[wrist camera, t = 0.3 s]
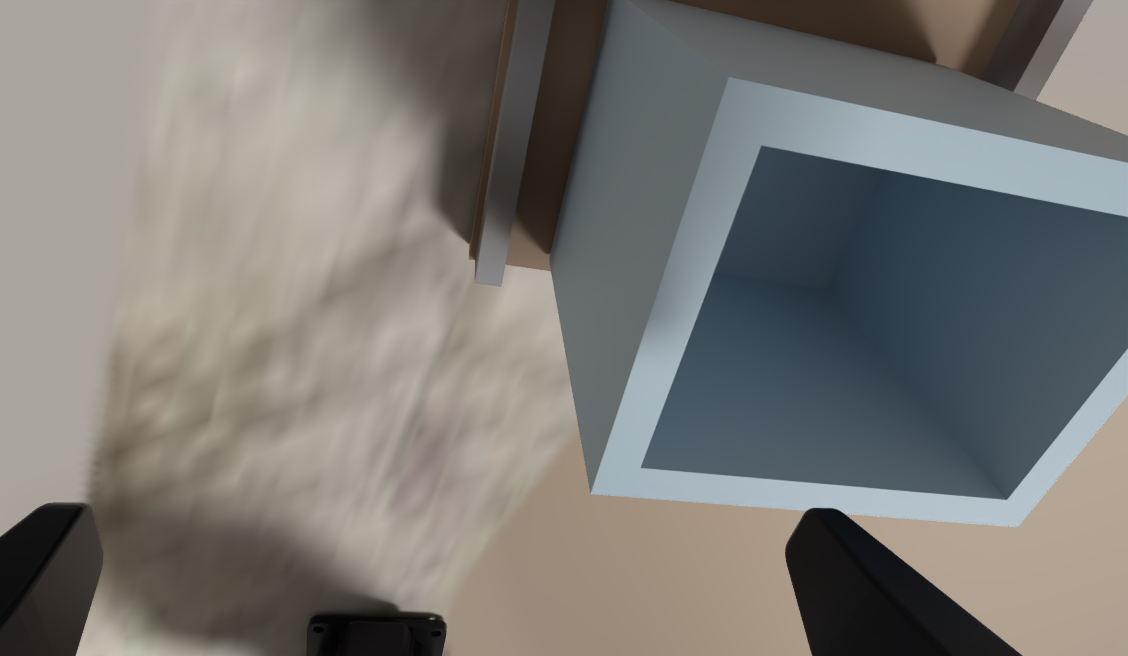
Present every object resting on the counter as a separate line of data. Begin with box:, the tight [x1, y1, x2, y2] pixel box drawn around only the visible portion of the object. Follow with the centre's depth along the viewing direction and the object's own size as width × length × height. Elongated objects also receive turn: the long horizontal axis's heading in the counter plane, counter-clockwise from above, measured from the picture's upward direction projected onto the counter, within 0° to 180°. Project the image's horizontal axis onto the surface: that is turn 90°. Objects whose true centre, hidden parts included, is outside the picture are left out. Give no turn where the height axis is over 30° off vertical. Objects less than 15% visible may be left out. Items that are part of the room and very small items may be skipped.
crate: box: [549, 0, 1128, 527], centre depth 16 cm, size 8×10×10 cm
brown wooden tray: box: [469, 0, 1093, 287], centre depth 17 cm, size 18×15×5 cm
